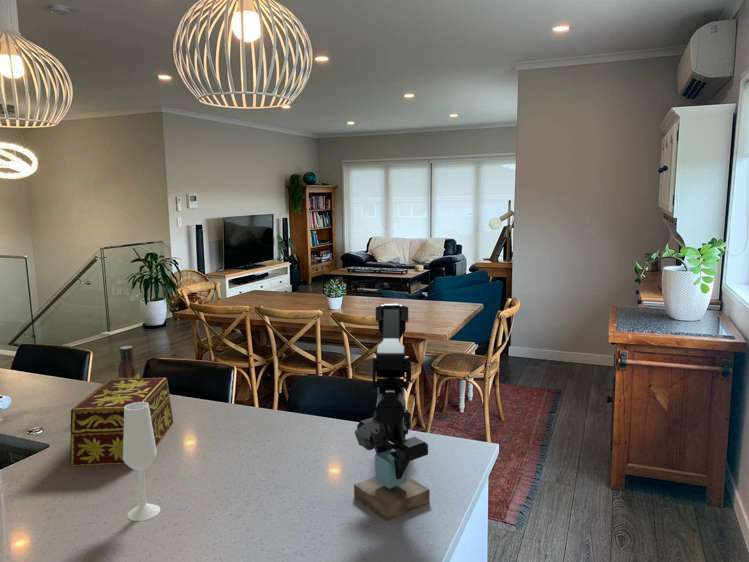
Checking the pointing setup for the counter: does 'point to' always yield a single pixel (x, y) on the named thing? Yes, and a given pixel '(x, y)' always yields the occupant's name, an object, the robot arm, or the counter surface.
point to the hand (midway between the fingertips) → (391, 474)
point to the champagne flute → (139, 453)
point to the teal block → (387, 470)
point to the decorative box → (115, 419)
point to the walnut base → (391, 497)
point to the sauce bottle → (128, 364)
